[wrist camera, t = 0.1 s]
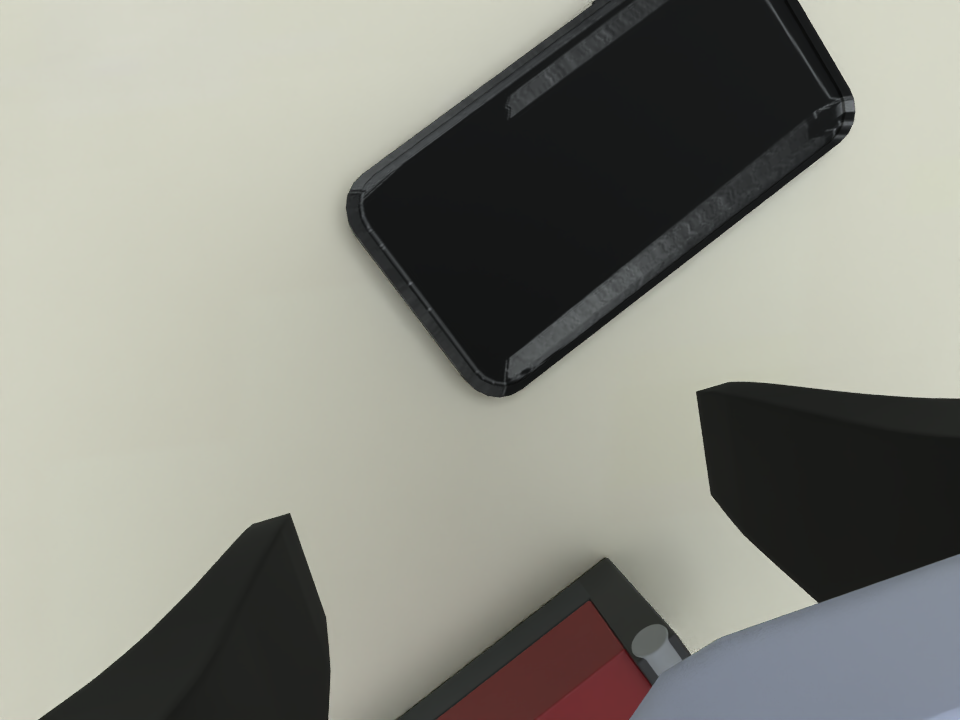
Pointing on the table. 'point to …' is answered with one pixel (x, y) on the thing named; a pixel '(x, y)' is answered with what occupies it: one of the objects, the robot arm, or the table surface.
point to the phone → (595, 173)
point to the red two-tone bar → (566, 659)
